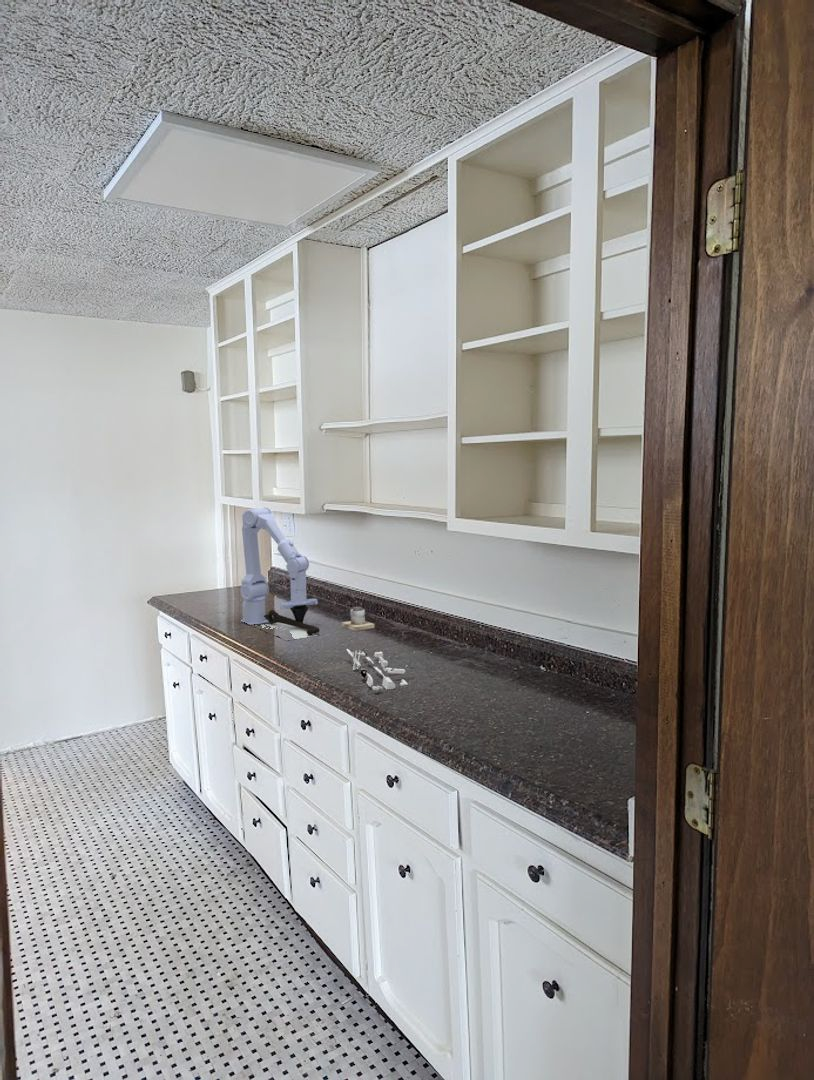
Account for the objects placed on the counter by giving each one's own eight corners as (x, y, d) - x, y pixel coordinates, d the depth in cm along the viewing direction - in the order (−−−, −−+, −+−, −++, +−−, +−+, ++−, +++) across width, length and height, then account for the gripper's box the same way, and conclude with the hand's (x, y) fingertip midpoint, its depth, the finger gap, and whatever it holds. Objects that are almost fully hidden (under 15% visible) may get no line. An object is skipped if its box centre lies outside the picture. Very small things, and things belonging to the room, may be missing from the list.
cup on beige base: (341, 626, 262) (341, 607, 262) (359, 623, 267) (359, 604, 266) (356, 631, 254) (355, 611, 254) (374, 628, 259) (374, 608, 258)
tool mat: (252, 626, 264) (252, 626, 264) (281, 622, 271) (281, 621, 271) (287, 641, 242) (287, 640, 241) (317, 635, 249) (317, 635, 249)
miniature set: (341, 658, 217) (378, 660, 221) (371, 700, 184) (415, 701, 189) (344, 638, 216) (381, 640, 221) (375, 676, 184) (419, 678, 188)
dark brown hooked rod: (309, 641, 247) (257, 624, 267) (320, 637, 251) (268, 621, 270) (309, 627, 246) (257, 610, 266) (320, 623, 250) (268, 608, 269)
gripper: (285, 593, 251) (286, 630, 252) (321, 588, 259) (322, 624, 261) (276, 590, 256) (277, 627, 258) (311, 586, 265) (312, 621, 267)
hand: (299, 625), depth 260 cm, fingers closed
